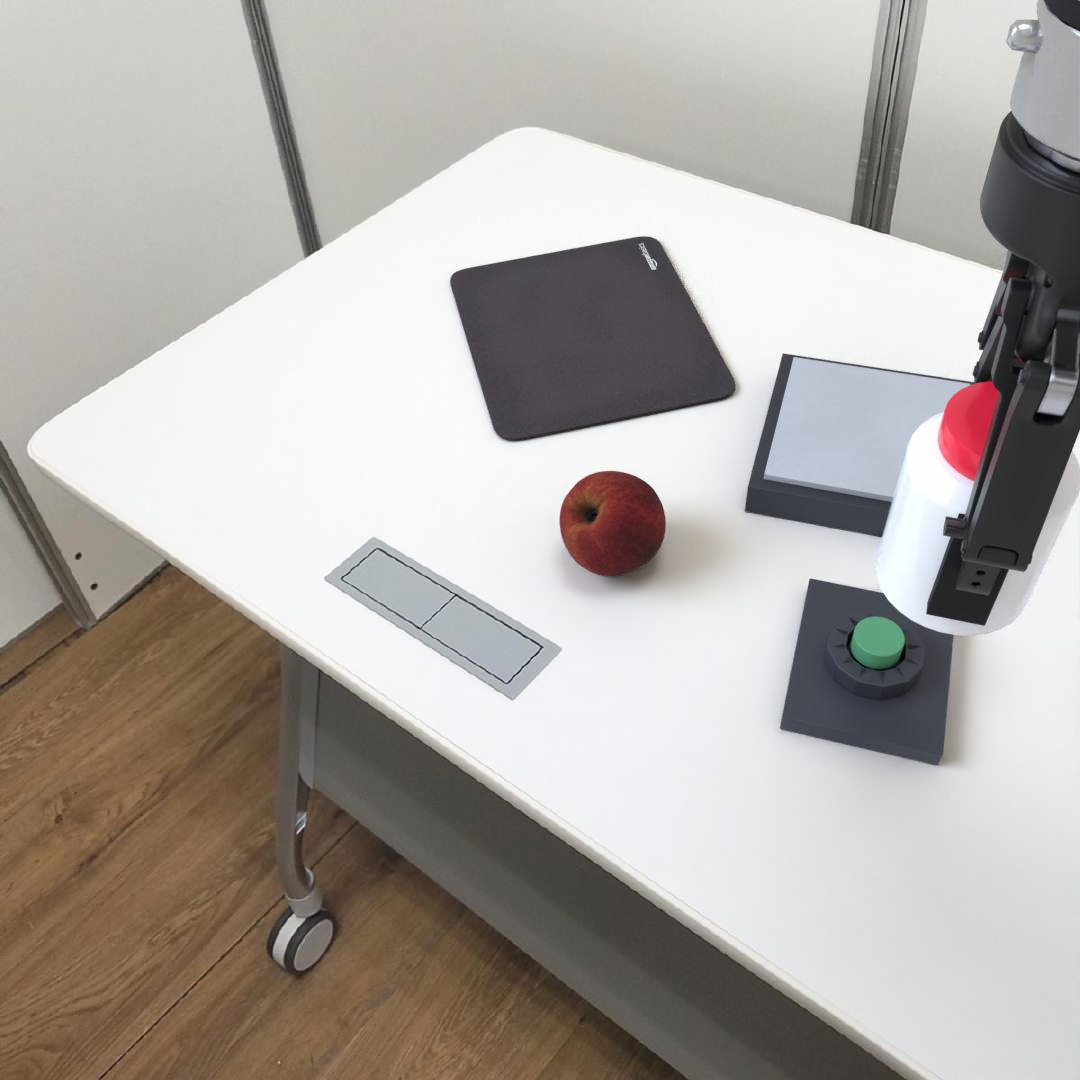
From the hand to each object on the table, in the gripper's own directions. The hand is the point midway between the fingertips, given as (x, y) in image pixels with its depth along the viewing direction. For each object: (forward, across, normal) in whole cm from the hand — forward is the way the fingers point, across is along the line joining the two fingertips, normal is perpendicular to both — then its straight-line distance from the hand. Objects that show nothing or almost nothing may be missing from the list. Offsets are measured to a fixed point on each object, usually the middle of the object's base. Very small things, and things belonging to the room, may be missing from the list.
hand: (961, 548), depth 55 cm
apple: (+20, -11, -21) cm, 31 cm away
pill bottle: (+2, 0, 0) cm, 2 cm away
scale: (+20, -26, -4) cm, 33 cm away
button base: (+20, -5, -2) cm, 20 cm away
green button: (+17, -5, -2) cm, 18 cm away
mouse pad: (+20, -36, -30) cm, 51 cm away
